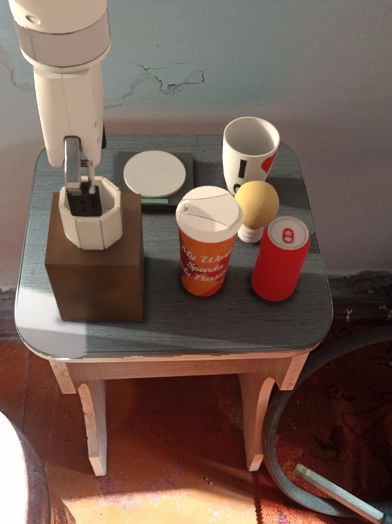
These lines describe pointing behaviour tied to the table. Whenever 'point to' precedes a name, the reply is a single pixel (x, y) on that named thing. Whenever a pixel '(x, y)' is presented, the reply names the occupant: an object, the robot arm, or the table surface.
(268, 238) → the beverage can
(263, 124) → the cup
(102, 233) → the bowl
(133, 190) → the scale
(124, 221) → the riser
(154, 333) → the table surface
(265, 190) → the light bulb
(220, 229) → the coffee cup
